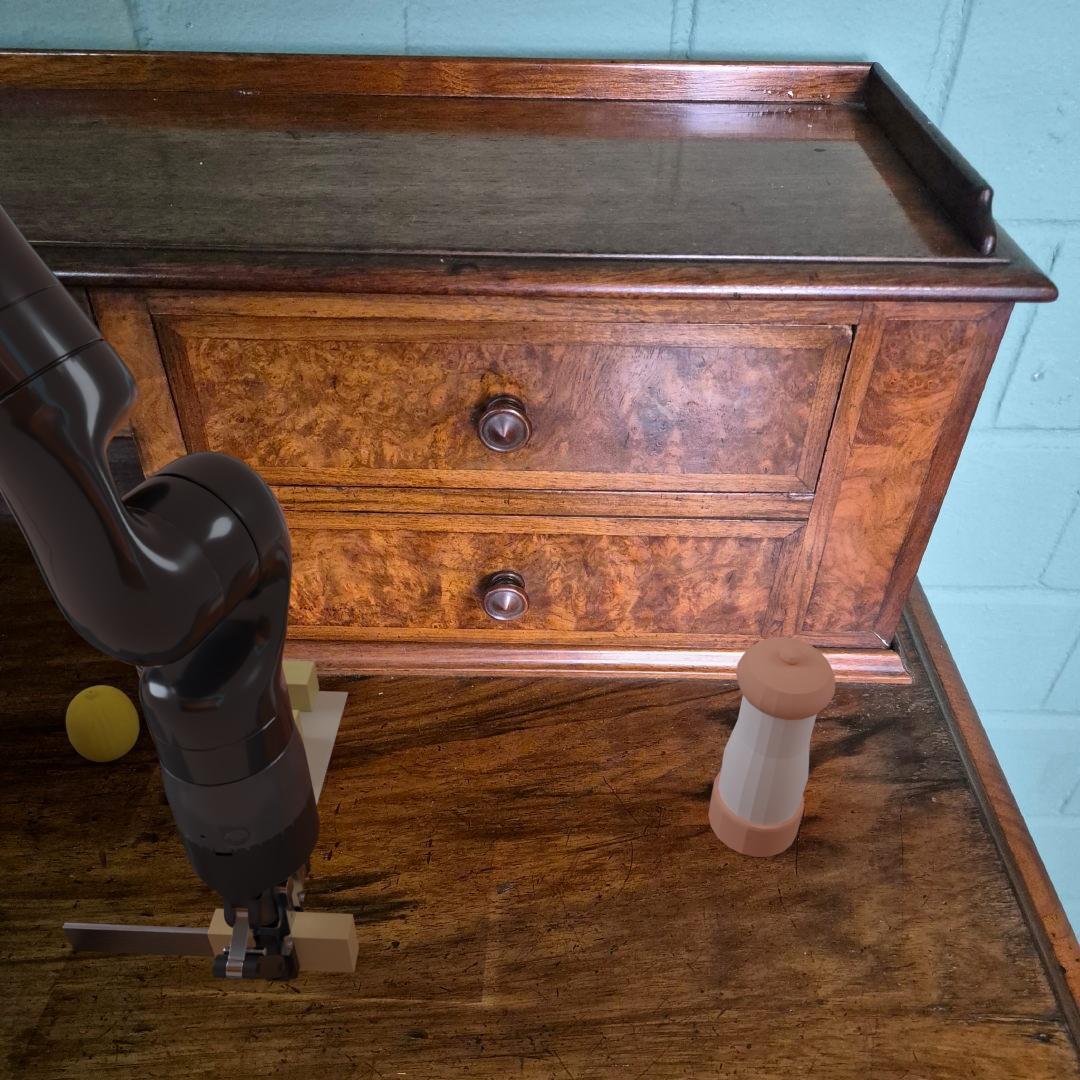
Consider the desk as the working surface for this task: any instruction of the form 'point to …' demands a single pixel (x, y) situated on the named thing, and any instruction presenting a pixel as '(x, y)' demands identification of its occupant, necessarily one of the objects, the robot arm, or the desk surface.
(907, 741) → the desk surface
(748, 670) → the pepper shaker
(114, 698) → the lemon
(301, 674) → the butter slice
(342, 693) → the butter dish
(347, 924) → the knife
